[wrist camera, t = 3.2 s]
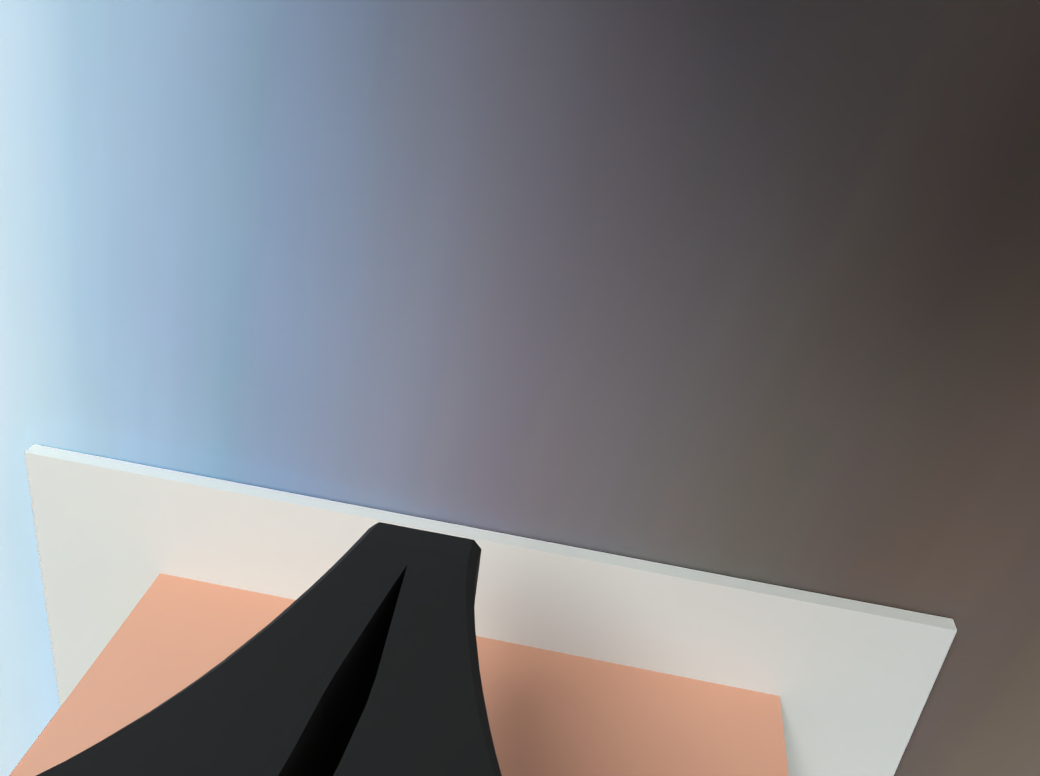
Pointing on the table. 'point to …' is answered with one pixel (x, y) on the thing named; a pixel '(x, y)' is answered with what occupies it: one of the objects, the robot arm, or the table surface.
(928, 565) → the table surface
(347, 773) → the robot arm
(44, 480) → the rubber mat
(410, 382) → the table surface
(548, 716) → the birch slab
